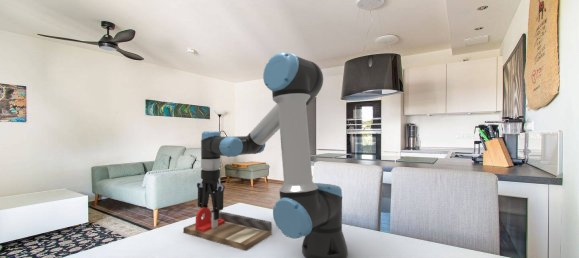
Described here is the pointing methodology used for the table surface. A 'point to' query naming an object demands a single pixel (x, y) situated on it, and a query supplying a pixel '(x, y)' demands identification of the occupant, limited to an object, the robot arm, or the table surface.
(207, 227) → the bracket
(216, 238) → the board
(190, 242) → the table surface
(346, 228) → the table surface
